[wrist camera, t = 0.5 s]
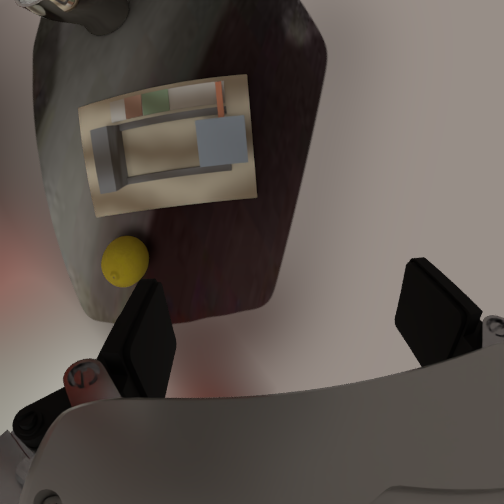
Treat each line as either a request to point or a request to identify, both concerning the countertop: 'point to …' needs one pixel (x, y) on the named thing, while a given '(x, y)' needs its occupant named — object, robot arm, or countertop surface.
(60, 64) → the countertop surface
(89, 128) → the gauge board
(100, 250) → the countertop surface
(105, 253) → the lemon
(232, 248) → the countertop surface
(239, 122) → the slider block with pointer
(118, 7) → the grey metal cup
